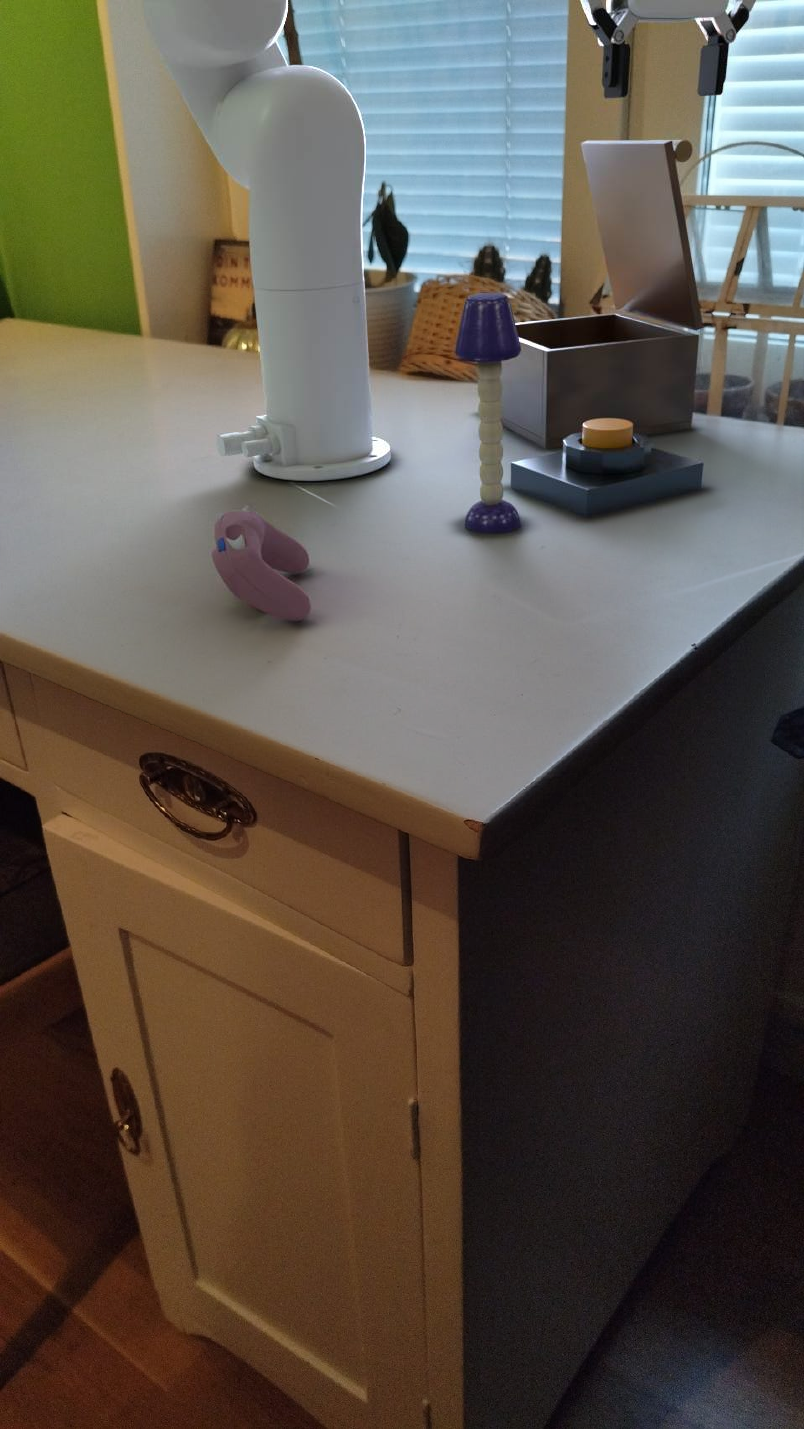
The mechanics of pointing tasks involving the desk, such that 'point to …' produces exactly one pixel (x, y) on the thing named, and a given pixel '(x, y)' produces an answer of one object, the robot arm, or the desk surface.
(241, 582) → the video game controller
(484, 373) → the toy lamp
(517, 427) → the brown square box
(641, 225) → the lid
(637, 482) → the control block
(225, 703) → the desk surface
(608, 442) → the button
